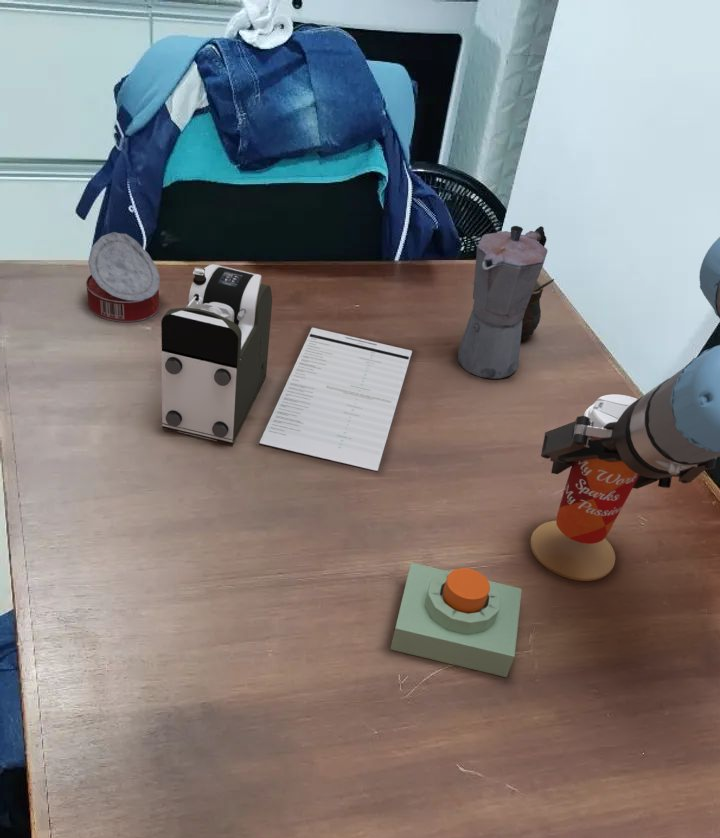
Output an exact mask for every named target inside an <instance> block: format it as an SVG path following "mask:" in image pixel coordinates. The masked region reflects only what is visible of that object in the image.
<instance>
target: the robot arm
mask: <svg viewBox="0 0 720 838" xmlns="http://www.w3.org/2000/svg"><path fill="white" fill-rule="evenodd" d="M699 289H700V290H701V292H702V295H703V296H704V297H705V299H706V300H707V302H708V303H709V305H710V306H711V307H712V309H713V311H714V314H715V315H716V316H717V317H718V318H719V319H720V236H719V237H717V239H716V240H715V241H714V242H713V243H712V245H710V247H709V249H708V250H707V251H706V253H705V255H704V257H703V259H702V262H701V265H700V269H699ZM637 399H638V400H636V401H635V402H633V403H632V404H631V405H630V406H629V407H628V408H627V409H626V410H625V411H624V412H623V414H622V415H621V417H620V418H619V420H618V421H617V422H611V423H608V424H606V425H605V426H604V428H600V427H593V425H594V422H592V421H590V418H588V417H586V416H584V415H580V416H577V417H576V419H575V421H572V422H570V423H567V424H564V425H561V426H559V427H556V428H553V429H550V430H548V431H545V432H544V437H543V443H542V448H541V453H540V457H542V458H544V459H547V460H549V461H550V462H552V467H551V474H555V475H559V474H561V473H563V472H564V471H566V470H568V469H570V468H571V467H572V465H573V461H581V460H590V459H600V460H603V461H607V462H619V461H622V462H624V463H625V464H626V465H627V466H628V467H629V468H630V469H631V470H632V471H634V472H635V473H637V474H639V477H638V479H637V481H636V483H635V484H634V486H633V488H632V489H636V490H638V489H641V488H643V487H646V486H648V485H650V484H653V483H656V482H658V484H657V486H658V488H664V489H669V488H671V484H672V478H673V477H674V478H678V482H680V483H681V484H690V483H692V482H693V481H694V480H695V479H697V477H699V476H700V475H701V474H702V473H703V472H704V471H709V470H711V469H715V468H716V465H717V464H716V463H717V458H718V457H719V458H720V344H718V345H715V346H713V347H710V348H708V349H705V350H704V351H702V352H701V353H700V354H699V355H698V356H697V357H693V358H692V360H691V361H690V362H689V363H687V364H686V365H685V367H683V368H681V369H680V370H678V371H677V372H676V373H674V374H673V375H672V376H670V377H669V378H667V379H665V380H664V381H663V382H661V383H660V384H658V385H656V386H654V387H653V388H652V389H650V390H649V391H648V392H646V393H645V394H643V395H642V396H641V397H639V398H637Z"/></svg>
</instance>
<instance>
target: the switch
mask: <svg viewBox="0 0 720 838" xmlns="http://www.w3.org/2000/svg"><path fill="white" fill-rule="evenodd" d="M451 571H452V570H451ZM488 581H489V580H488V578H487V577H486V576H485V575H483V574H482V573H481V572H479V571H477V570H475V569H472V568H467V567H466V568H463V567H462V568H461V567H460V568H457V569H454V571H452V572H451V573H449V575H448V576H447V579H446V582H445V586H444V589H443V599H444V601H445V603H446V604H447V605H448V606H450V607H451V608H452V609H454V610H456V611H459V612H463V613H475V612H478V611H480V610H481V609H482V608H483V607H484V605H485V603H486V600H487V597H488V594H489V591H490V584H489V582H488Z"/></svg>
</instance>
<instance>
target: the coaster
mask: <svg viewBox="0 0 720 838" xmlns="http://www.w3.org/2000/svg"><path fill="white" fill-rule="evenodd" d="M529 543H530V544H529V545H530V549H531V552H532V553H533V556H534V557H535V558H536V560H537V561H538V563H540V564H541V565H542V566H543V567H544V568H546V569H547V570H548V571H550V572H551V573H553V574H555V575H558V576H559V577H562V578H565V579H569V580H572V581H581V582H588V581H596V580H601V579H602V578H604V577H606V576H607V575H609V574H610V573H611V572H612V570H613V568H614V566H615V565H616V553H615V550H614V548H613V546H612V545H611V543H610V542H609V541H608V539H607V538H606V537H605V538H604V539H603V540H602V541H600V542H598V543H594V544H586V543H580V542H577V541H574V540H572V539H570V538H568V537H567V536H565V535H564V534H563V533H562V532H561V531H560V530H559V528H558V526H557V523H556V520H550V521H546V522H543V523H541V524H540V525H538V526H537V527H536V528H535V529H534V531H533V532H532V534H531V537H530V541H529Z"/></svg>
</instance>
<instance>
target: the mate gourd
mask: <svg viewBox="0 0 720 838" xmlns="http://www.w3.org/2000/svg"><path fill="white" fill-rule="evenodd" d="M554 281H555V279H554V278H553V279H549V280H548V281H547V282H545V283H543V284H542V283H541V282H540V281H539V280H537V282H536V285H535V287H534V290H533V292H532V295H531V298H530V300H529V303H528V306H527V308H526V310H525V313H524V317H523V319H522V332H521V341H523V340H524V339H526V338H528V337H530V336H532V335H533V334H534V332H535V331H536V329H537V328H538V325H539V324H540V321H541V318H542V317H541V316H542V314H541V313H542V309H541V298H542V295H543V291H544V288H545V287H547V286H548V285H550V284H551V283H553V282H554Z"/></svg>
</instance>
